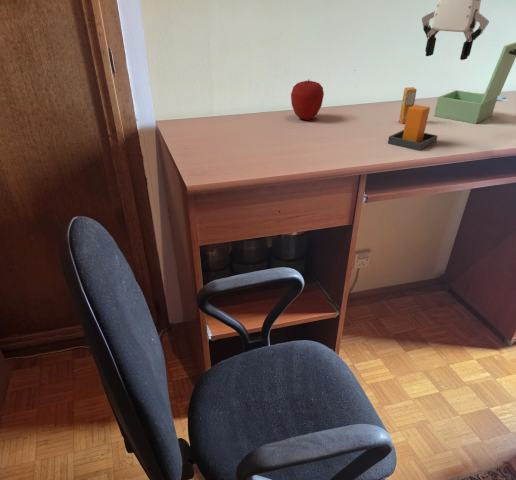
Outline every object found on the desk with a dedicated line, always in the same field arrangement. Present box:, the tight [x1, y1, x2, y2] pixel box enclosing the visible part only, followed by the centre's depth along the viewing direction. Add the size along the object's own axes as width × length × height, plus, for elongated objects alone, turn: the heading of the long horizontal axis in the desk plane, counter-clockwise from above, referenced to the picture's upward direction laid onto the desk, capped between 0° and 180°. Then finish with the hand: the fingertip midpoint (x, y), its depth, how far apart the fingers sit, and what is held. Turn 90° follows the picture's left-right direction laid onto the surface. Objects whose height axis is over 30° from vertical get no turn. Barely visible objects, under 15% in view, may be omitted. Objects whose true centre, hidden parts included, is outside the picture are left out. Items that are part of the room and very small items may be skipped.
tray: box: [387, 129, 438, 152], centre depth 131 cm, size 10×10×2 cm
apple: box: [290, 78, 325, 121], centre depth 147 cm, size 11×11×12 cm
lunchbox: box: [433, 89, 498, 125], centre depth 152 cm, size 15×14×6 cm
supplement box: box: [398, 86, 417, 125], centre depth 144 cm, size 3×3×10 cm
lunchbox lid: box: [481, 41, 516, 103], centre depth 140 cm, size 15×14×6 cm
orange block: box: [402, 104, 431, 143], centre depth 128 cm, size 4×4×9 cm
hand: (445, 57), depth 120 cm, fingers open, 9 cm apart
